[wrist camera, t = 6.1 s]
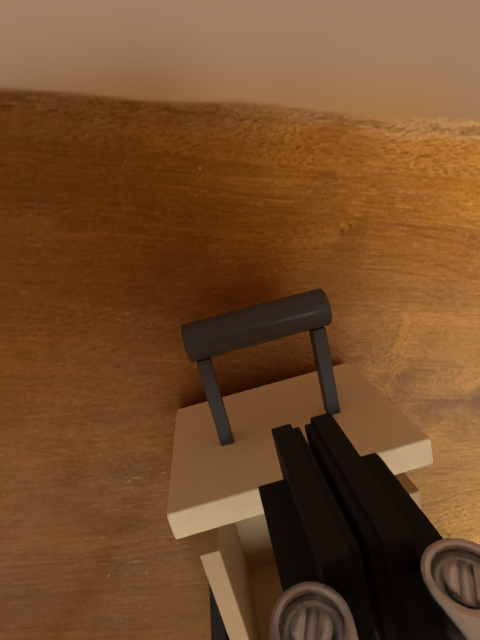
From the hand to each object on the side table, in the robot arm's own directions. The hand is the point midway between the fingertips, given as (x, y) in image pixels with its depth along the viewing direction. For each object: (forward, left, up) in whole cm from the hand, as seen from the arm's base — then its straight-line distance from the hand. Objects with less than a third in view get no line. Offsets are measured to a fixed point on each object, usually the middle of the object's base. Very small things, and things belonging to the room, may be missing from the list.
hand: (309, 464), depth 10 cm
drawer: (+6, +1, -10) cm, 12 cm away
